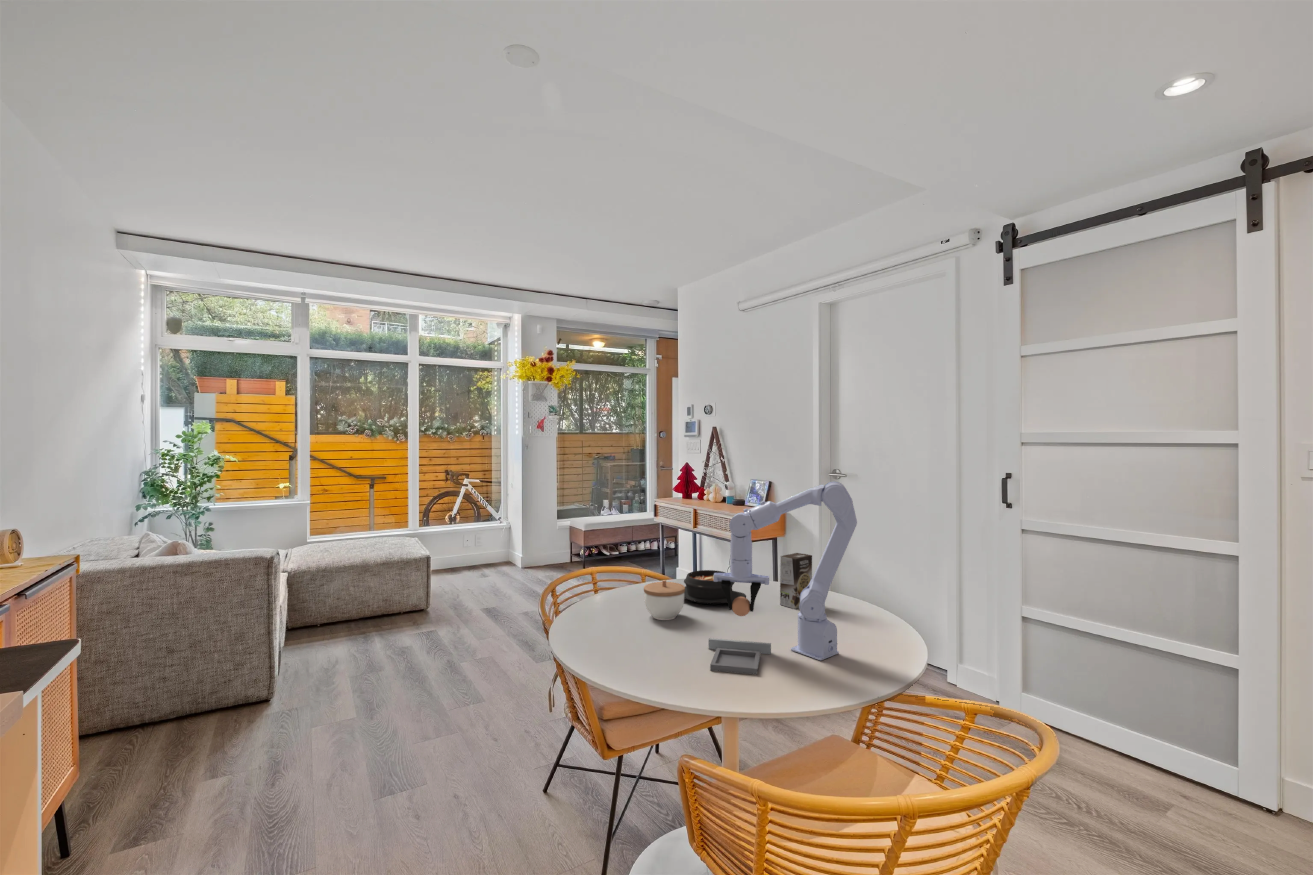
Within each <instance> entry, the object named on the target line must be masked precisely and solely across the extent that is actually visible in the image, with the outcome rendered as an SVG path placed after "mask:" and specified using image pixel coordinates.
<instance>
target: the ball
mask: <svg viewBox="0 0 1313 875" xmlns="http://www.w3.org/2000/svg"><path fill="white" fill-rule="evenodd" d="M750 603H751V601H750V600H749V599H748V598H747V597H746V598H745V597H737V598H735V599H734V601H733V602H732V610H731V611H732V612H733V613H734V614H735V615H736V616H739V617H746V616H747V615H748V614H749V613H750V612H751V611H750Z"/></svg>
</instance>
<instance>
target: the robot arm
mask: <svg viewBox="0 0 1313 875" xmlns="http://www.w3.org/2000/svg"><path fill="white" fill-rule="evenodd" d="M759 502H760V503H759V505H756V506H753V507H751V508H749V509H748V508H743V512H738V513H736V514H734V515H733V517H732V518H731V519H730V521H729V525H728V526H729V531H730V541H729V543H730V544H729V545H730V548H729V549H730V550H729V551H730V559H729V560H730V572H726V573H714V582H718V581H722V583H721V587H722V589H723V591H724V593H725V596H726V599H727V602H728V603H727V605H728V611H733V610H732V590H733V586H732V582H735V583H740V584H741V583H742V584H750V588H749V590H750V612H754V611H755V608H754V607H755V604H756V603H755V602H756V598H757V595H758V593H759V591H760V588H761V586H762V585H765V586H769V585H770V575H765V574H764V575H763V574H756V573H753V541H752V531H753V530H755V531H757V530H760V529H763V528H765V527H767V526H770V525H772V524H775V523H777V522H779V520H780V518H781V516H782V515H784V514H787V513H789V512H791V511H794V510H796V509H801V508H802V507H805V506H807V505H814V506H819V507H821V506H822V502H823V504H824V505H825V506H826V507H827V509H829V510H830V511H831V513H832V515H833V518H834V520H835V521H836V522H835V525H834V528H833V530H832V532H831V535H830V536H829V538H828V541H827V543H826V546H825V548H824V549H823V552H822V555H821V557H820V560H819V562H818V564H817V567H816V569H815V571H814V573H813V575H812V579H811V581H810V583H809V585H808V586H807V587H806V588H805V589H803V591H802V592H801V594H800V604H799V608H798V609H799V612H797V645H795V646H792V647H790V651H793V652H796V653H798V654H801V655H804V656H807V657H809V658H812V659H815V660H818V661H823V660H825V659H828V658H830V657H833V656H835V655H838V654H839V653H840V652H839V650H838V628H837V625H836V624H835V622H832V621H830V619H828V618H827V617H828V616H827V613H826V604H825V603H826V601H827V600H826V599H827V597H828V595H829V591H830V587H831V584H832V582H833V581H834V577H835V576H836V573H837V572H838V568H839V567H840V564H841V562H842V560H843V557H844V555H845V552H846V550H847V548H848V546H849V543H850V541H851V538H852V536H853V534H854V532H855V530H856V528H857V525H858V520H857V516H856V511H855V506H854V503H853V498H852V497H851V495H850V493H849V491H848V490H847V488H846V487H845V485H844V484H843V483H842V482H839V481H835V480H833V481H829V482H827V483H826V484H819V485H815V486H813V487H810V488H807V489H805V490H803V491H801V492H798V493H796V494H794V495H792V496H790V497H789V496H788V497H787V498H785V499H783V500H780V501H778V502H773V501H772V500H768V501H765V500H762V501H759Z"/></svg>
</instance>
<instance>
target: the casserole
mask: <svg viewBox="0 0 1313 875" xmlns="http://www.w3.org/2000/svg"><path fill="white" fill-rule="evenodd" d="M714 573H727V572H726V571H721V570H713V569H707V570H706V569H703V570H702V569H701V570H695V571H691V572H689V573H687V574H686V577H685V579H684V580H683V583H684V584H685V585H684V587H685V596H684V600H685V599H686V600H689V601H691V602H694V603H697V604H701V605H719V604H728V602H727V599H726V596H725V593H724V591H723V589H722V587H721V583H722V581H718V582H714ZM735 583H736V582H732V587H733V585H735ZM737 597H745V598H747V595H746V593H743V592H741V591H736V590H733V589H732V602H733V601H734V599H735V598H737Z"/></svg>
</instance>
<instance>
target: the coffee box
mask: <svg viewBox="0 0 1313 875" xmlns="http://www.w3.org/2000/svg"><path fill="white" fill-rule="evenodd" d="M779 568H780V572H779V573H780V574H779V575H780V576H779V584H780V585H779V605H780V606H784V607H787V608H790V609H793V610H797V609H799V604H800V594H801V592H802V591H803V589H805V588H806V587H807V586H808V585H809V583H810V581H811V579H812V577H813V555H811V554H807V553H800V552H794V553H790V554H789V553H788V554H784V555H780V565H779Z"/></svg>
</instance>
